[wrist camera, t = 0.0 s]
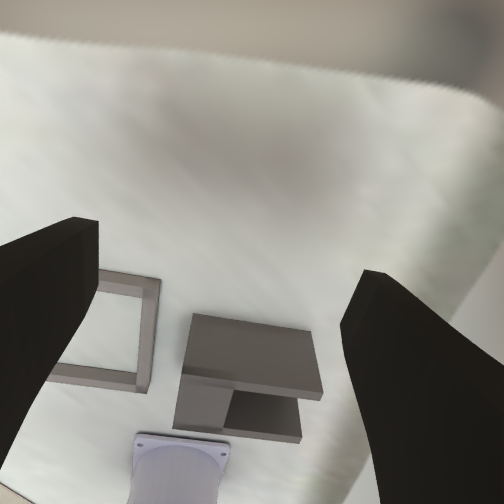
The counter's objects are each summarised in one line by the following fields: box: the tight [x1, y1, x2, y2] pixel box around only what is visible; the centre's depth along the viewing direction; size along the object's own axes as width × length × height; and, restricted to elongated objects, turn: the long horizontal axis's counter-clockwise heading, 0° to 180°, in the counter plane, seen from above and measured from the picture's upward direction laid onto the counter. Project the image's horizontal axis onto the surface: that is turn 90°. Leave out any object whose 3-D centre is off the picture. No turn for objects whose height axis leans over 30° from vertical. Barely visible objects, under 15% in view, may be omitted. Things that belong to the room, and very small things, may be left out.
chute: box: [172, 313, 323, 444], centre depth 23 cm, size 8×5×5 cm, turn 78°
